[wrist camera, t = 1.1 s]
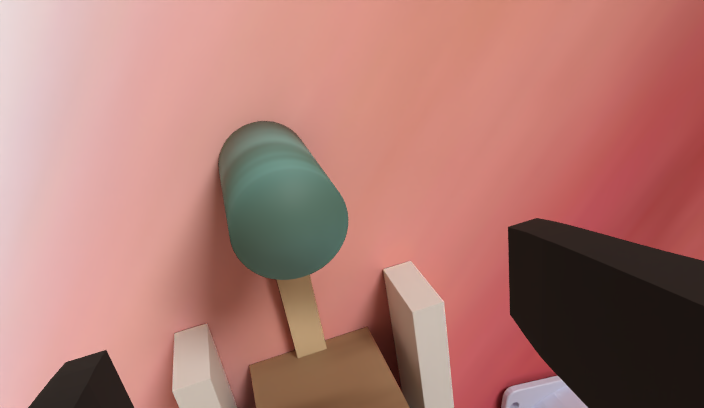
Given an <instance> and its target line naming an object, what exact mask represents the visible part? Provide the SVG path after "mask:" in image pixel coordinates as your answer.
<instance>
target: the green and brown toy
mask: <svg viewBox="0 0 704 408" xmlns="http://www.w3.org/2000/svg"><path fill="white" fill-rule="evenodd" d="M218 167H219V175H220V181H221V187H222V193H223V199H224V206H225V212H226V218H227V224H228V230H229V236H230V241H231V245H232V248H233V250H234V252H235V254H236V256H237V257H238V259H239V260H240V261H241V262H242V263H243V264H244V265H245V266H246V267H247V268H248V269H250V270H251V271H253V272H254V273H256V274H258V275H261V276H263V277H266V278H270V279H276V280H277V283H278V287H279V291H280V295H281V298H282V302H283V306H284V309H285V313H286V317H287V321H288V324H289V328H290V332H291V335H292V339H293V343H294V347H295V351H292V352H289V353H286V354H283V355H280V356H276V357H273V358H270V359H267V360H264V361H261V362H258V363H255V364H252V365H249V367H250V373H251V379H252V386H253V392H254V398H255V404H256V408H410V407H409V405H408V403H407V401H406V399H405V397H404V396H403V394H402V392H401V390H400V388H399V386H398V384H397V382H396V380H395V378H394V376H393V375H392V373H391V371H390V369H389V367H388V365H387V363H386V361H385V359H384V357H383V355H382V354H381V352H380V350H379V348H378V346H377V344H376V342H375V340H374V338H373V336H372V334H371V333H370V331H369V329H368V327H365V328H362V329H359V330H356V331H353V332H350V333H347V334H343V335H340V336H337V337H334V338H331V339H328V340H325V339H324V335H323V330H322V326H321V322H320V317H319V313H318V309H317V305H316V300H315V296H314V292H313V287H312V283H311V279H310V274H312V273H314V272H316V271H318V270H319V269H321V268H322V267H324V266H325V265H326V264H327V263H329V262H330V261H331V260H332V259H333V258H334V256H335V255H336V254H337V253H338V251H339V250H340V248H341V246H342V244H343V242H344V240H345V237H346V234H347V229H348V212H347V208H346V205H345V202H344V200H343V198H342V196H341V195H340V193H339V192H338V190H337V189H336V187H335V186H334V185H333V183H332V182H331V181H330V179H329V178H328V176H327V175H326V174H325V172H324V171H323V170H322V168H321V167H320V165H319V164H318V163H317V161H316V160H315V158H314V157H313V156H312V154H311V153H310V152H309V150H308V149H307V147H306V146H305V145H304V143H303V142H302V141H301V139H300V138H299V137H298V135H297V134H296V133H294V132H293V131H292V130H291V129H289V128H288V127H286V126H284V125H282V124H279V123H275V122H270V121H259V122H253V123H250V124H247V125H245V126H242V127H241V128H239V129H238V130H236V131H235V132H234V133H232V134H231V136H230V137H229V138H228V139H227V140H226V142H225V143H224V145H223V147H222V149H221V152H220V156H219V163H218Z"/></svg>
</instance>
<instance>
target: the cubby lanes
mask: <svg viewBox="0 0 704 408" xmlns="http://www.w3.org/2000/svg"><path fill="white" fill-rule="evenodd" d="M383 272H384V279H385V285H386V292H387V298H388V305H389V311H390V318H391V324H392V330H393V337H394V343H395V350H396V356H397V363H398V369H399V376H400V382H401V388H402V394H403V396H404V397H405V399H406V401H407V403H408V405H409V407H410V408H454V402H453V392H452V381H451V371H450V360H449V349H448V339H447V328H446V318H445V307H444V301H443V300H442V299H441V298H440V296H439V295H438V294H437V293H436V291H435V290H434V289H433V288H432V286H431V285H430V284H429V283H428V281H427V280H426V279H425V278H424V276H423V275H422V274H421V273H420V272H419V270H418V269H417V268H416V267H415V265H414V264H413V263H412V262H411V261H408V262H405V263H402V264H398V265H395V266H392V267H389V268H385V269H383ZM172 392H173V394H174V397H175V399H176V401H177V404H178V406H179V408H237V405H236V402H235V399H234V396H233V394H232V391H231V388H230V385H229V382H228V380H227V377H226V374H225V371H224V369H223V366H222V363H221V360H220V357H219V355H218V352H217V349H216V346H215V343H214V341H213V338H212V335H211V332H210V330H209V327H208V324H207V323H206V324H203V325H200V326H196V327H193V328H190V329H187V330H183V331H180V332H177V333H174V357H173V382H172Z"/></svg>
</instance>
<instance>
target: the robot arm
mask: <svg viewBox="0 0 704 408" xmlns="http://www.w3.org/2000/svg"><path fill="white" fill-rule="evenodd" d="M508 243H509V288H510V315H511V316H512V318H513V319H514V321H515V322H516V323H517V325H518V326H519V328H520V329H521V331H522V332H523V333H524V335H525V336H526V338H527V339H528V340H529V342H530V343H531V344H532V346H533V347H534V348H535V350H536V351H537V352H538V354H539V355H540V356H541V358H542V359H543V360H544V361H545V362H546V363H547V364H548V365H549V367H550V368H551V369H552V370H553V371H554V372H555V373H556V374H557V375H558V376H554V377H549V378H545V379H540V380H536V381H532V382H527V383H523V384H519V385H514V386H511V387H509V388H508V389H506V391H505V392H504V394H503V399H502V405H501V408H704V261H702V260H698V259H694V258H690V257H686V256H682V255H678V254H674V253H670V252H666V251H663V250H659V249H655V248H651V247H648V246H644V245H640V244H637V243H633V242H629V241H626V240H622V239H618V238H615V237H611V236H608V235H604V234H600V233H597V232H593V231H589V230H586V229H582V228H578V227H574V226H571V225H567V224H563V223H558V222H554V221H549V220H544V219H539V218H536V219H533V220H529V221H526V222H523V223H520V224H516V225H513V226H510V227H508ZM28 408H134V406H133V404H132V402H131V400H130V398H129V396H128V394H127V392H126V390H125V388H124V386H123V384H122V382H121V380H120V377H119V375H118V373H117V371H116V369H115V367H114V365H113V363H112V361H111V359H110V357H109V355H108V353H107V351H106V350H104V351H101V352H98V353H95V354H91V355H88V356H85V357H82V358H78V359H75V360H72V361H68V362H66V363H65V364H64V365H63V366H62V367H61V368H60V369H59V371H58V372H57V373H56V374H55V375H54V376H53V378H52V379H51V380H50V381H49V382H48V384H47V385H46V386H45V387H44V389H43V390H42V391H41V392H40V394H39V395H38V396H37V397H36V399H35V400H34V401H33V402H32V404H31V405H30V406H29V407H28Z"/></svg>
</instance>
